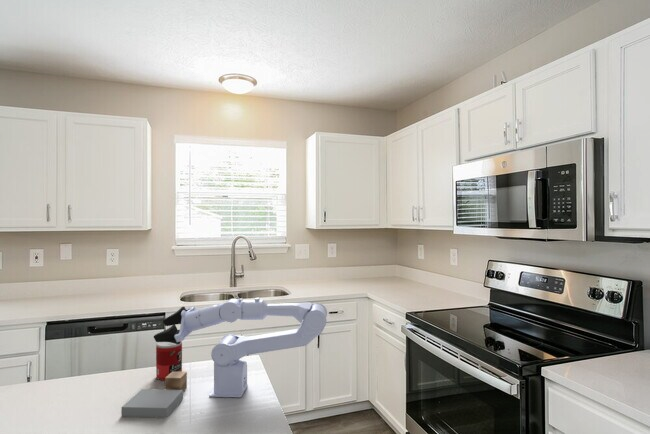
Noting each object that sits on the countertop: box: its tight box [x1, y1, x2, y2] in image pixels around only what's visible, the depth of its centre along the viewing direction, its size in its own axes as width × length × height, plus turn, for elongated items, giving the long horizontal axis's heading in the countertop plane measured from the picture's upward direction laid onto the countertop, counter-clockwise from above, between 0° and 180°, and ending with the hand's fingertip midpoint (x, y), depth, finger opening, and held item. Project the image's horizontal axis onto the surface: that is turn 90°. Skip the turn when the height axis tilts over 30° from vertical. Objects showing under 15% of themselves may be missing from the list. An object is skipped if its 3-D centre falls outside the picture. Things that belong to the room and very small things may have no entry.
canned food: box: [155, 341, 183, 381], centre depth 121 cm, size 8×8×11 cm
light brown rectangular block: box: [164, 371, 188, 393], centre depth 111 cm, size 4×4×5 cm
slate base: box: [121, 388, 184, 419], centre depth 101 cm, size 12×10×2 cm
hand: (159, 330), depth 111 cm, fingers open, 7 cm apart
